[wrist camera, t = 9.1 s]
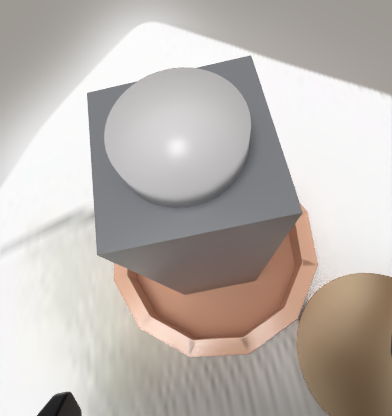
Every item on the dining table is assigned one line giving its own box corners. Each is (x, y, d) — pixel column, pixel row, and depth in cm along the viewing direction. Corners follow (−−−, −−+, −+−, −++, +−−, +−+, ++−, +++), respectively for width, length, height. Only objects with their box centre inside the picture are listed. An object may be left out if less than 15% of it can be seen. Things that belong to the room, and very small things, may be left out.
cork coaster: (453, 289, 18) (460, 288, 18) (466, 464, 16) (475, 470, 15) (302, 262, 20) (304, 261, 19) (288, 418, 17) (290, 422, 16)
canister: (255, 280, 18) (312, 198, 6) (184, 294, 19) (79, 247, 6) (239, 213, 20) (252, 28, 7) (173, 227, 20) (72, 70, 7)
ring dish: (327, 215, 20) (342, 199, 18) (260, 387, 17) (266, 401, 15) (178, 156, 23) (171, 134, 20) (99, 295, 20) (78, 292, 17)
